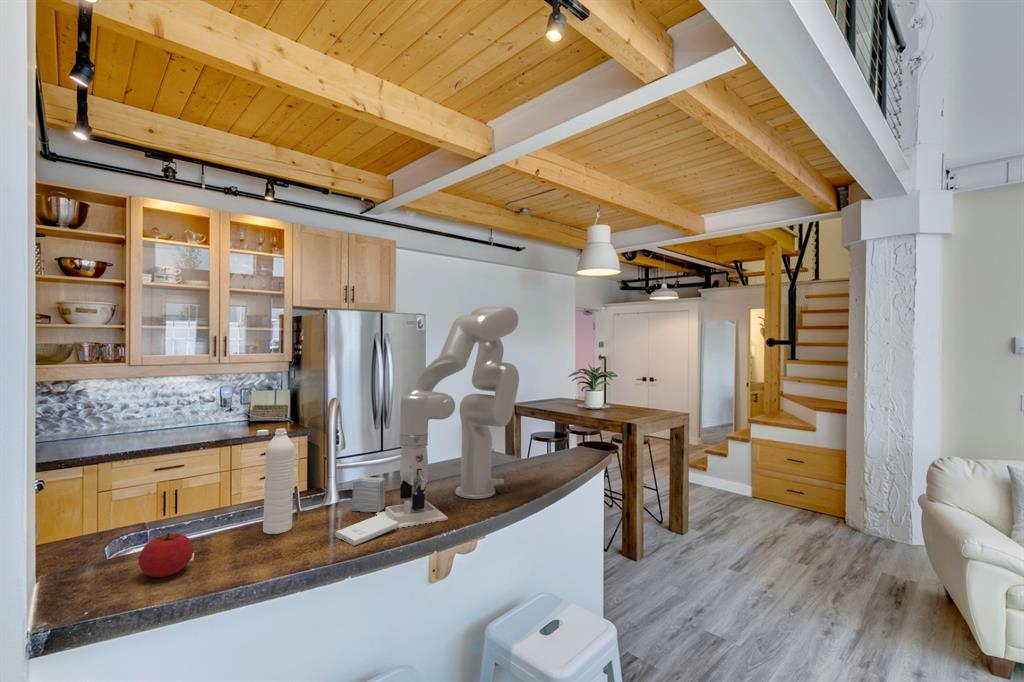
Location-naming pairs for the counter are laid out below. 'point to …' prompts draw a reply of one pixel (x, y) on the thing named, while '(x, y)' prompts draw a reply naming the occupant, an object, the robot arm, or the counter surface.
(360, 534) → the external hard drive
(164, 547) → the tomato
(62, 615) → the counter surface
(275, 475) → the water bottle
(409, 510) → the usb wall charger
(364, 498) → the medicine box
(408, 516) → the outlet plate
